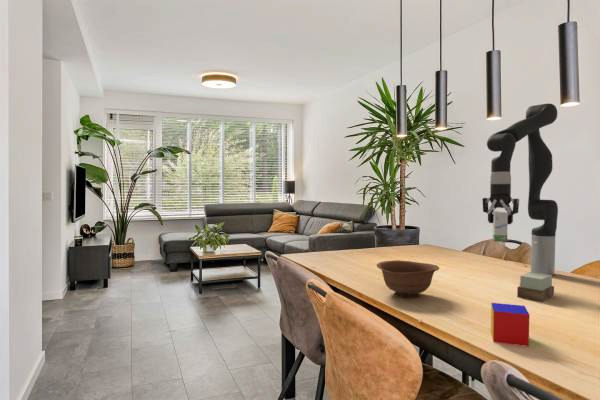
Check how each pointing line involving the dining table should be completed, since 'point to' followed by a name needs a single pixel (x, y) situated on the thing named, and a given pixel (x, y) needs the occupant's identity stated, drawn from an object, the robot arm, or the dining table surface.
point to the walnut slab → (535, 293)
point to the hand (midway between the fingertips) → (500, 223)
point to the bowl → (407, 277)
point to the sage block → (536, 281)
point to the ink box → (500, 226)
